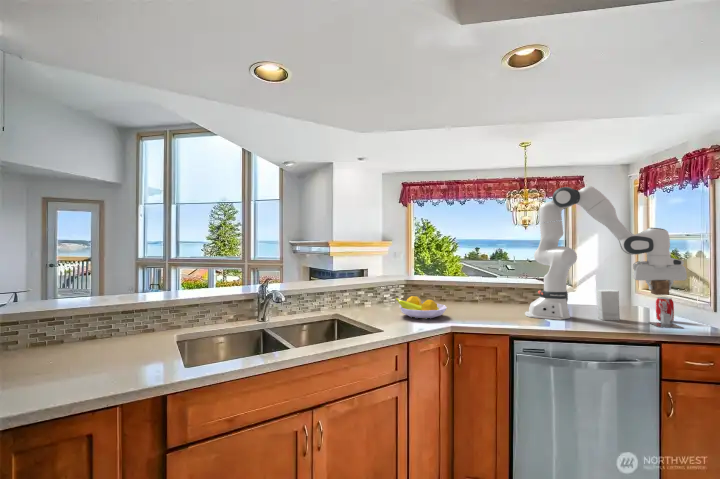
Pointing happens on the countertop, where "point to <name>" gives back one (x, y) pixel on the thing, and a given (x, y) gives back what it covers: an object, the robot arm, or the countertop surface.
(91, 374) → the countertop surface
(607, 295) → the skincare box
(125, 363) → the countertop surface
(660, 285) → the shipping carton
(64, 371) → the countertop surface
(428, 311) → the fruit bowl
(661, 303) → the soda can
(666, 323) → the square metal plate
